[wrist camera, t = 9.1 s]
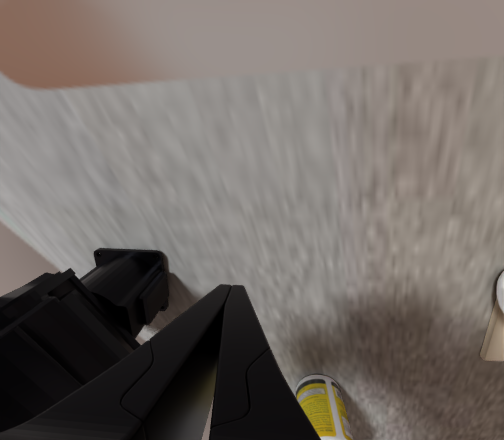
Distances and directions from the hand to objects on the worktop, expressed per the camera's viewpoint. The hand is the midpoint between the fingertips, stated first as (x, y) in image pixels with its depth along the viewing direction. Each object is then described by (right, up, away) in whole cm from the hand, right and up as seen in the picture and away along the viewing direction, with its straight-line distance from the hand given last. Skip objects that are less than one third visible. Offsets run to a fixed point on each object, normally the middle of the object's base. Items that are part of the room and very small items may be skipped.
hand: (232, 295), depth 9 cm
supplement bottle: (+8, -16, +19) cm, 26 cm away
